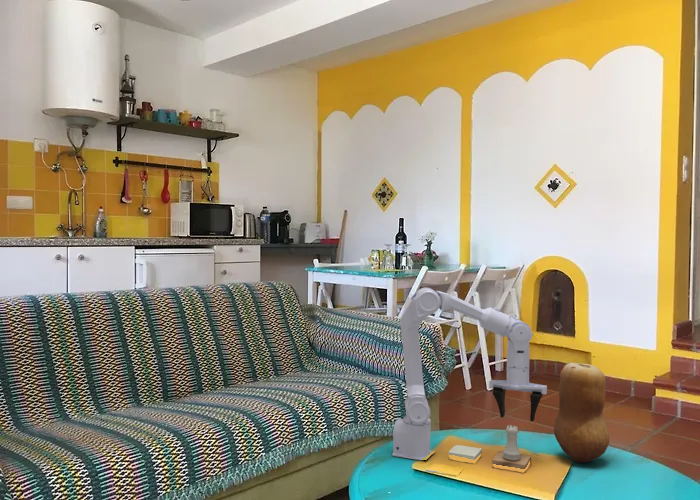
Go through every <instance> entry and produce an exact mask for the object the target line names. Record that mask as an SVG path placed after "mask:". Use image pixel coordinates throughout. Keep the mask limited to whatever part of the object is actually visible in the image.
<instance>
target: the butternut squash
mask: <svg viewBox="0 0 700 500" xmlns="http://www.w3.org/2000/svg"><path fill="white" fill-rule="evenodd" d="M559 377H560V379H559V386H558V399H559V400H558V403H559V404H558V413H557V415H556V418H555V421H554V425H553V433H554V437H555V438H554V439H555V440H556V442H557V443H558V445H559V447H560V448H561V450H562V451H563V452H564V454H565V455H567V456H568V457H569V459H571V460H572V461H573V462H575V463H578V464H584V463H590V462H593V461H595V460H597V459H599V458H600V457H601V456H603V455H604V454H605V452H606V451H607V449H608V448H609V444H610V432H609V429H608V426H607V423H606V420H605V419H604V414H603V413H604V412H603V411H604V406H605V404H606V403H605V402H606V397H607V396H606V395H607V394H606V393H607V391H606V390H607V386H606V385H607V384H606V381H607V379H606V375H605V374H604V372H603V371H602V370H601V369H600V368H599V367H597V366H595V365H593V364H589V363H580V362H579V363H578V362H577V363H576V362H569V363H566V364H565V365H564V367H563V368H562V370H561V371H560V373H559Z"/></svg>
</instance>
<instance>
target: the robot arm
mask: <svg viewBox="0 0 700 500" xmlns="http://www.w3.org/2000/svg"><path fill="white" fill-rule="evenodd" d="M439 310H440V311H449V310H453V311H454V312H458V313H459V314H462V315H464V316H466V317H469V318H472V319H474V320H477V321H478V323H479V325H480V327H481V328H483V329H485V330H487V331H489V332H492V333H494V334H495V335H498V336H501V337H504V338H505V337H506V338H507V348H506V380H505V379H503V380H499V379H490V380H489V382H488V386H489V387H488V388H489V389H492V395H493V396H494V399H495V401H496V403H497V407H498V412H499V414H500V415H499V416H500V418H504V417H505V415H506V406H505V405H506V403H505V401H506V399H505V398H506V391H507V390H508V391H515V392H516V391H517V392H526V393H530V395H529V398H530V415H529V418H530V419H529V420H530V422H534V421H535V417H536V413H537V410H538V406H539V403H540V402H541V399H542V397H543V395H547V393H548V385H547V384H545V385H543V384H539V383H533V382H530V353H531V351H530V341H531V340H532V339H533V335H534V334H533V332H532V329H531V326H530V325H529V324H528V323H526V322H523V321H522V320H520V319H519V318H517V316H515V315H513V314H512V315H511V316H510V315H509V314H506V313H503V312H502V311H500V308H498V307H495V306H494V307H493V308H492V307H487V308H484V309H483V308H481V307H478V306H476V305H474V304H471V303H469V302H467V301H466V300H464V299H461V298H459V297H457V296H455V295H453V294H450V293H447V292H443V291H440V290H434V289H432V288H431V287H422V288H419V289H418V290H417V291H415V293H414V294H412V295H411V296H410V299H409V301H408V303H407V305H406V307H405V308H404V310H403V312H402V314H401V315H400V331H401V341H402V342H401V343H402V351H403V352H402V353H403V361H404V371H405V382H406V398H405V400H404V407H405V416H403V418H398V419H397V420H396V421H395V423H394V425H393V438H392V441H393V442H392V447H393V448H392V454H391V456H392V457H399V458H404V459H409V460H410V459H411V460H416V461H421V459H423V458H424V457H426V456H427V455H428V454H430V452H431V451H432V450H431V434H432V433H431V432H432V431H431V428H432V427H431V426H432V425H431V423H432V420H431V418H430V416H431V408H430V405H429V400H428V399H427V396H426V392H425V386H424V385H425V384H424V376H423V375H424V374H423V365H422V354H421V345H420V334H419V332H420V331H419V326H420V325H421V323H422V322H423V321H424V320H425V319H426V318H427V317H428V316H431V315H432V314H434V313H436V312H437V311H439Z"/></svg>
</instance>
